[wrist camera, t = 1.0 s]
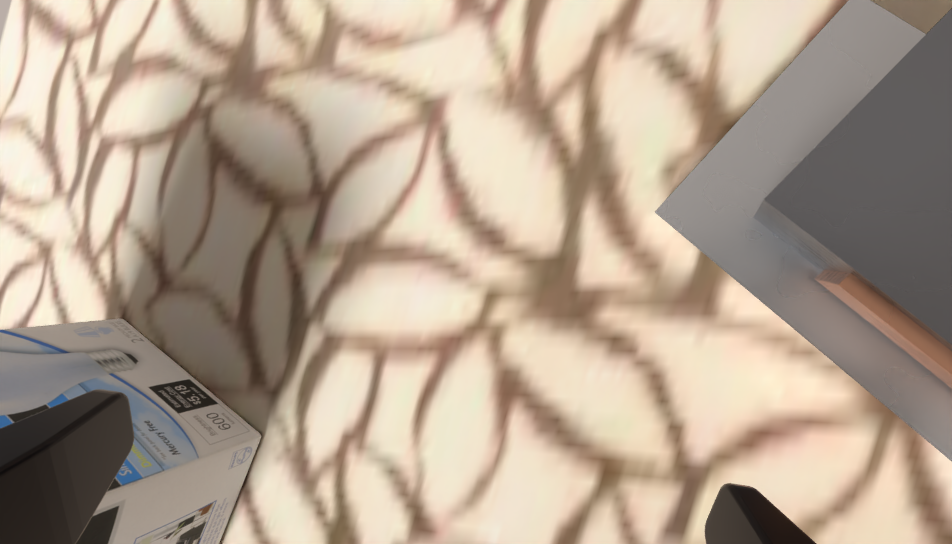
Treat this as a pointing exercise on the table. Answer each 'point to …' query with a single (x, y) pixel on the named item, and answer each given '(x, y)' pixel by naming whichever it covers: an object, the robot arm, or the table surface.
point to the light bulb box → (137, 429)
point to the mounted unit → (846, 207)
